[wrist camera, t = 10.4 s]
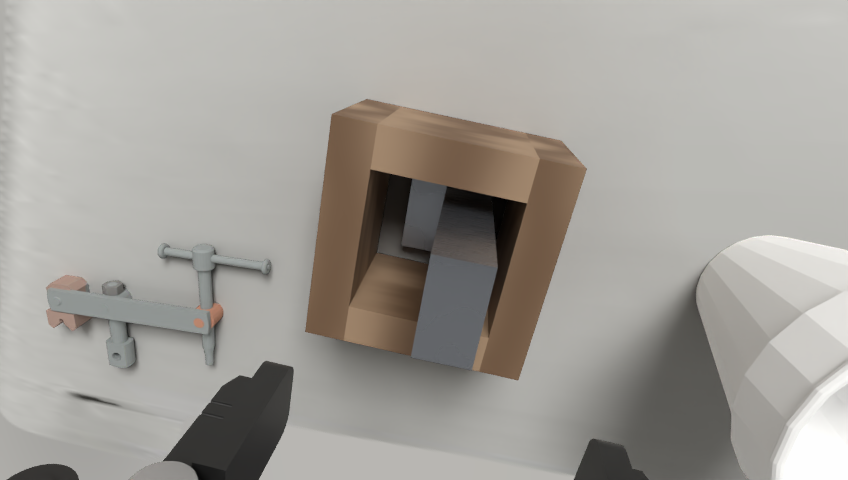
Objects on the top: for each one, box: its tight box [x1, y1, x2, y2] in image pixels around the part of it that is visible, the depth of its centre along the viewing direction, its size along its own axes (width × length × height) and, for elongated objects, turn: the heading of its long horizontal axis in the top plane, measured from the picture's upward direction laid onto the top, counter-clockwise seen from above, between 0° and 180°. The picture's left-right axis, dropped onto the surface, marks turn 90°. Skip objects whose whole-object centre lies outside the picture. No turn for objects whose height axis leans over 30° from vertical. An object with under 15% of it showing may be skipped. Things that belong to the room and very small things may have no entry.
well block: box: [305, 99, 587, 380], centre depth 26 cm, size 11×11×7 cm
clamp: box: [46, 243, 271, 368], centre depth 33 cm, size 15×2×10 cm
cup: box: [696, 235, 848, 480], centre depth 23 cm, size 12×12×14 cm
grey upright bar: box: [401, 178, 498, 370], centre depth 24 cm, size 4×4×12 cm
